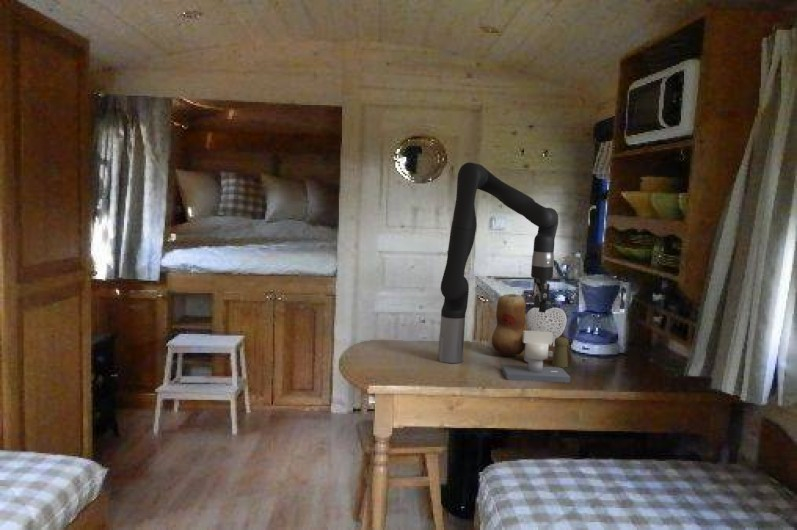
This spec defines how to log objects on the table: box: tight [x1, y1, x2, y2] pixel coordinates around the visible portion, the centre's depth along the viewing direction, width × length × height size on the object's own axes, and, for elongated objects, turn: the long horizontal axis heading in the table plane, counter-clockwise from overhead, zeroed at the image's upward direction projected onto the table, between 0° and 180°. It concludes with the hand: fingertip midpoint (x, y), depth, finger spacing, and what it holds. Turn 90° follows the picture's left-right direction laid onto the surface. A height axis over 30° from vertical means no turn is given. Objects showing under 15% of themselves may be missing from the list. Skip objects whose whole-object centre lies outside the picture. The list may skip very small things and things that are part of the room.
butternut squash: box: [491, 293, 527, 357], centre depth 245 cm, size 14×13×25 cm
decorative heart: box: [525, 307, 568, 347], centre depth 265 cm, size 18×11×17 cm, turn 98°
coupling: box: [523, 330, 554, 361], centre depth 219 cm, size 11×8×9 cm
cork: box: [551, 336, 569, 369], centre depth 235 cm, size 6×6×11 cm
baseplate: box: [501, 358, 571, 384], centre depth 219 cm, size 22×12×7 cm, turn 90°
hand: (539, 310), depth 217 cm, fingers open, 8 cm apart
